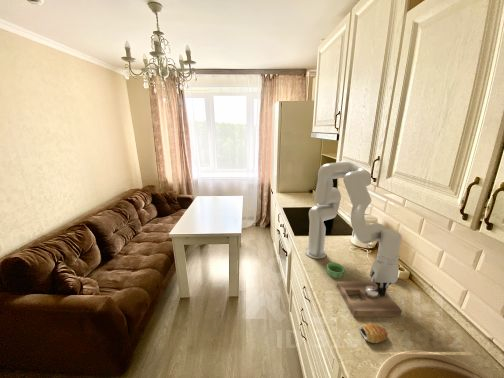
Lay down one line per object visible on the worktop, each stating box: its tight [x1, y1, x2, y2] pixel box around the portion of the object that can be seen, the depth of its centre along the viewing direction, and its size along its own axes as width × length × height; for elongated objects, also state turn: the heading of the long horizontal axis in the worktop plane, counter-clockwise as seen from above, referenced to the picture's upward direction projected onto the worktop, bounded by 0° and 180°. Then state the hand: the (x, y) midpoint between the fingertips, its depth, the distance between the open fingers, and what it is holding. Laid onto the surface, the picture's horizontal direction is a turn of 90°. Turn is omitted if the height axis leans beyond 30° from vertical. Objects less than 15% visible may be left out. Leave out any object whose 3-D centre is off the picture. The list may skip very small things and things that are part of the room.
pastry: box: [358, 323, 388, 344], centre depth 80 cm, size 9×7×4 cm
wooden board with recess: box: [336, 281, 403, 318], centre depth 98 cm, size 18×20×3 cm
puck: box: [365, 286, 378, 299], centre depth 97 cm, size 5×5×3 cm
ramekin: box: [326, 262, 345, 279], centre depth 116 cm, size 9×9×4 cm
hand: (380, 293), depth 98 cm, fingers closed
